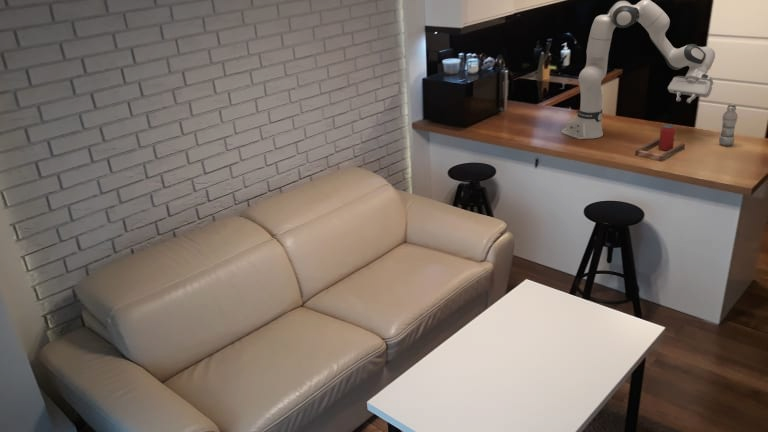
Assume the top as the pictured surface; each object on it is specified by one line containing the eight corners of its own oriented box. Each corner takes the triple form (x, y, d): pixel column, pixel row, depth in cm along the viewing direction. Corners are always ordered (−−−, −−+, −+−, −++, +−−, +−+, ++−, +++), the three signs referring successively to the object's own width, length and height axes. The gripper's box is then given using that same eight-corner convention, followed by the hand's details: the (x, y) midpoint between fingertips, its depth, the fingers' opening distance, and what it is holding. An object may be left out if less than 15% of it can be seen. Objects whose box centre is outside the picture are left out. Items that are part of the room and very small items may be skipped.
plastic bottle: (734, 147, 302) (740, 108, 293) (718, 146, 304) (724, 108, 296) (732, 142, 307) (738, 104, 299) (717, 142, 310) (723, 104, 301)
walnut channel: (635, 155, 305) (635, 150, 304) (657, 143, 317) (658, 138, 315) (662, 161, 295) (662, 156, 294) (684, 148, 307) (684, 143, 305)
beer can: (674, 150, 305) (676, 127, 300) (660, 151, 307) (662, 128, 301) (671, 146, 311) (673, 123, 306) (657, 146, 312) (659, 124, 307)
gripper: (673, 72, 312) (661, 95, 311) (713, 76, 298) (701, 101, 297) (676, 78, 317) (664, 101, 316) (716, 83, 302) (704, 107, 301)
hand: (682, 101), depth 306 cm, fingers open, 4 cm apart
